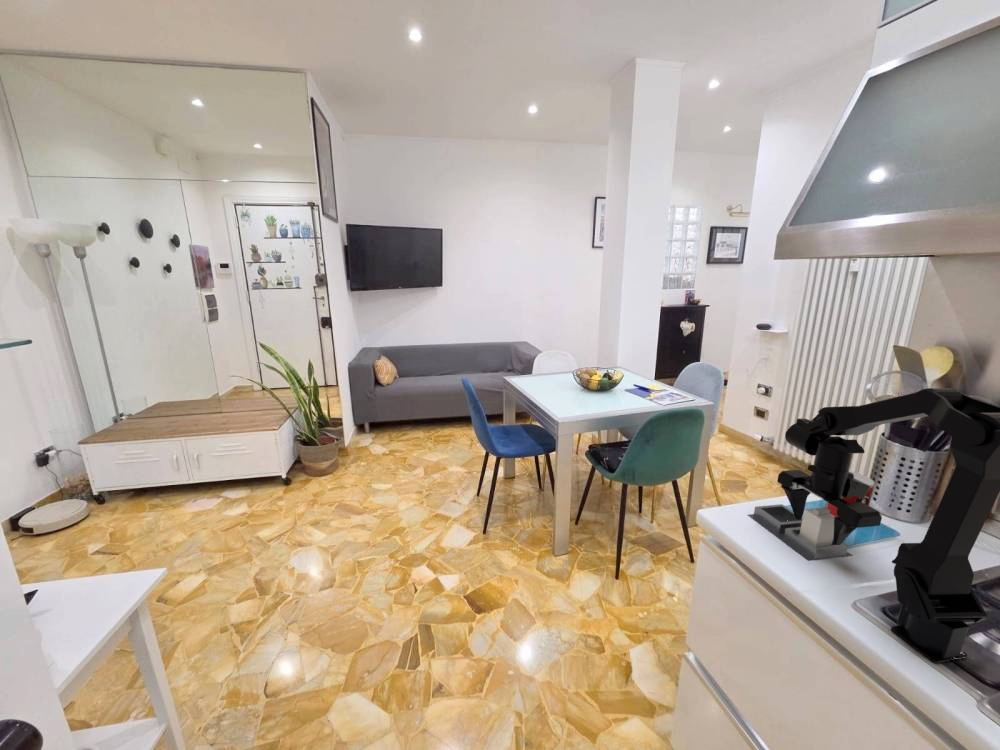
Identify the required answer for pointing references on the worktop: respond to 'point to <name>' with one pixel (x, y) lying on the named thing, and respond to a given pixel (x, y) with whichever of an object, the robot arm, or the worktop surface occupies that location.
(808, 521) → the plug
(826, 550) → the grey slotted tray
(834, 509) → the canned food
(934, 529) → the robot arm
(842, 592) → the worktop surface
